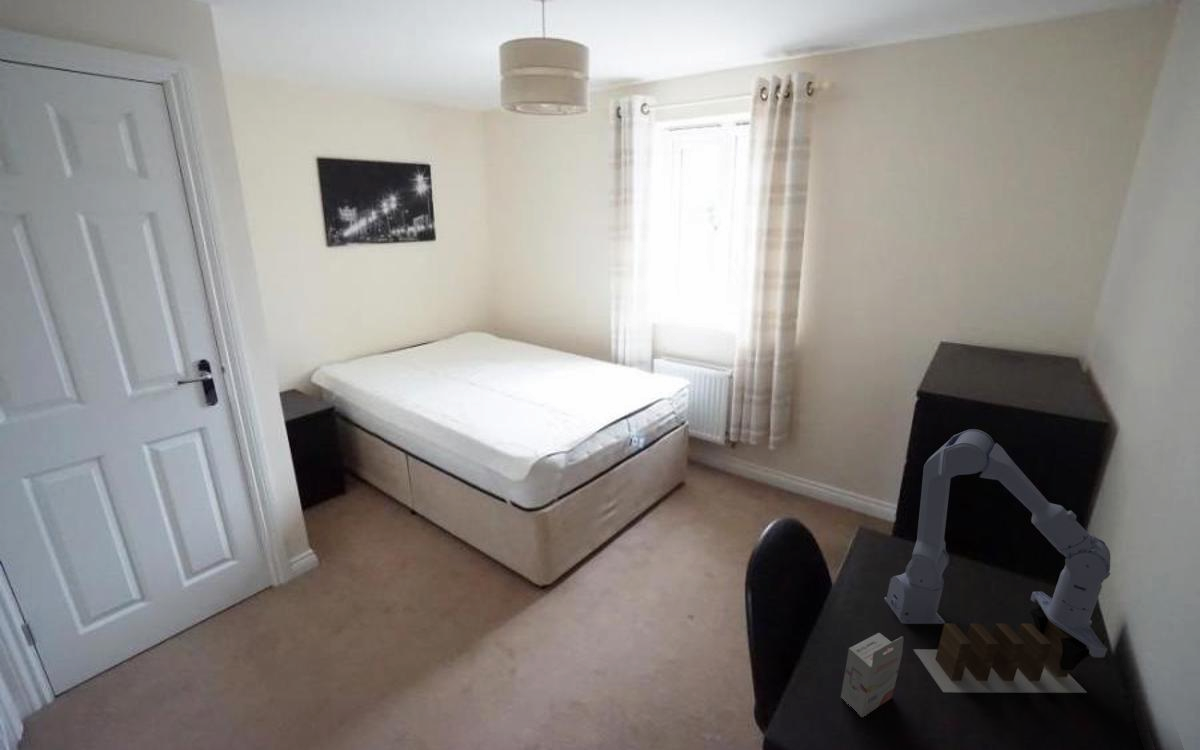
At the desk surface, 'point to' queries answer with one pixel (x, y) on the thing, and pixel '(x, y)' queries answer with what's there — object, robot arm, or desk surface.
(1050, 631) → the brown wooden block
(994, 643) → the domino
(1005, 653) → the domino
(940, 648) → the domino
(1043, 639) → the domino
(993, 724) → the desk surface
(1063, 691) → the mat
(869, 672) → the ink cartridge box
